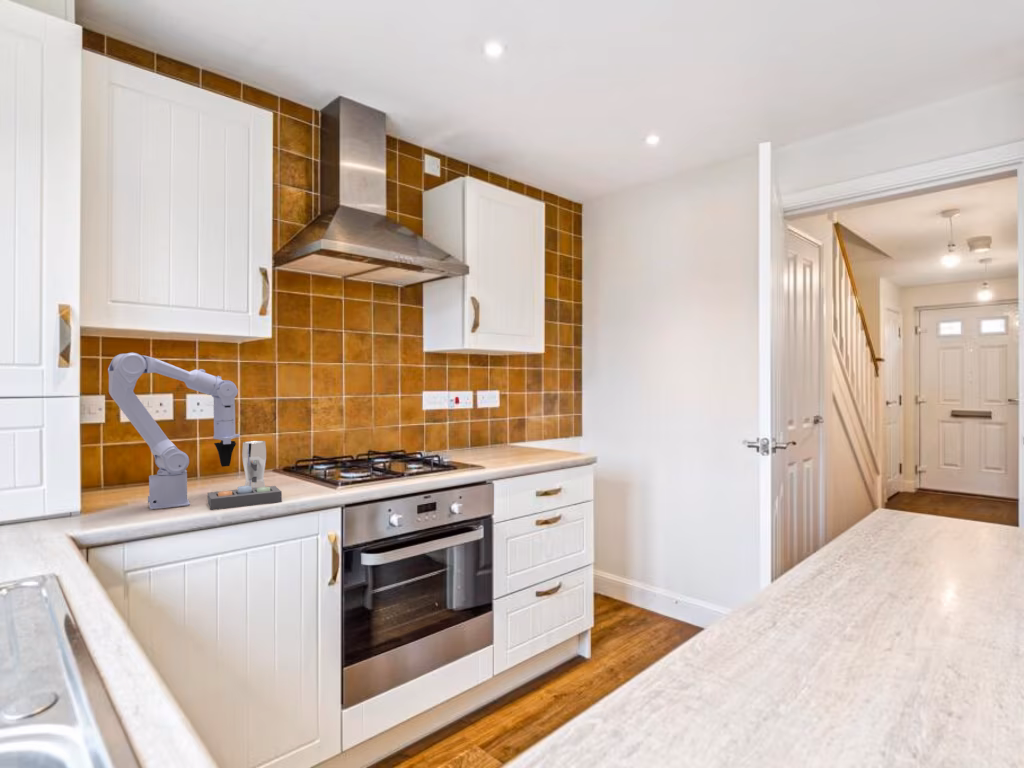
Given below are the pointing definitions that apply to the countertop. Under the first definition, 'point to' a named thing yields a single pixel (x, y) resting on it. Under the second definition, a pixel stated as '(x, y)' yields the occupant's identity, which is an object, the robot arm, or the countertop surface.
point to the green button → (263, 489)
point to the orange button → (224, 493)
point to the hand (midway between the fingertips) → (225, 466)
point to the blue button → (244, 489)
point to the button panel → (244, 498)
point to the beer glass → (254, 463)
